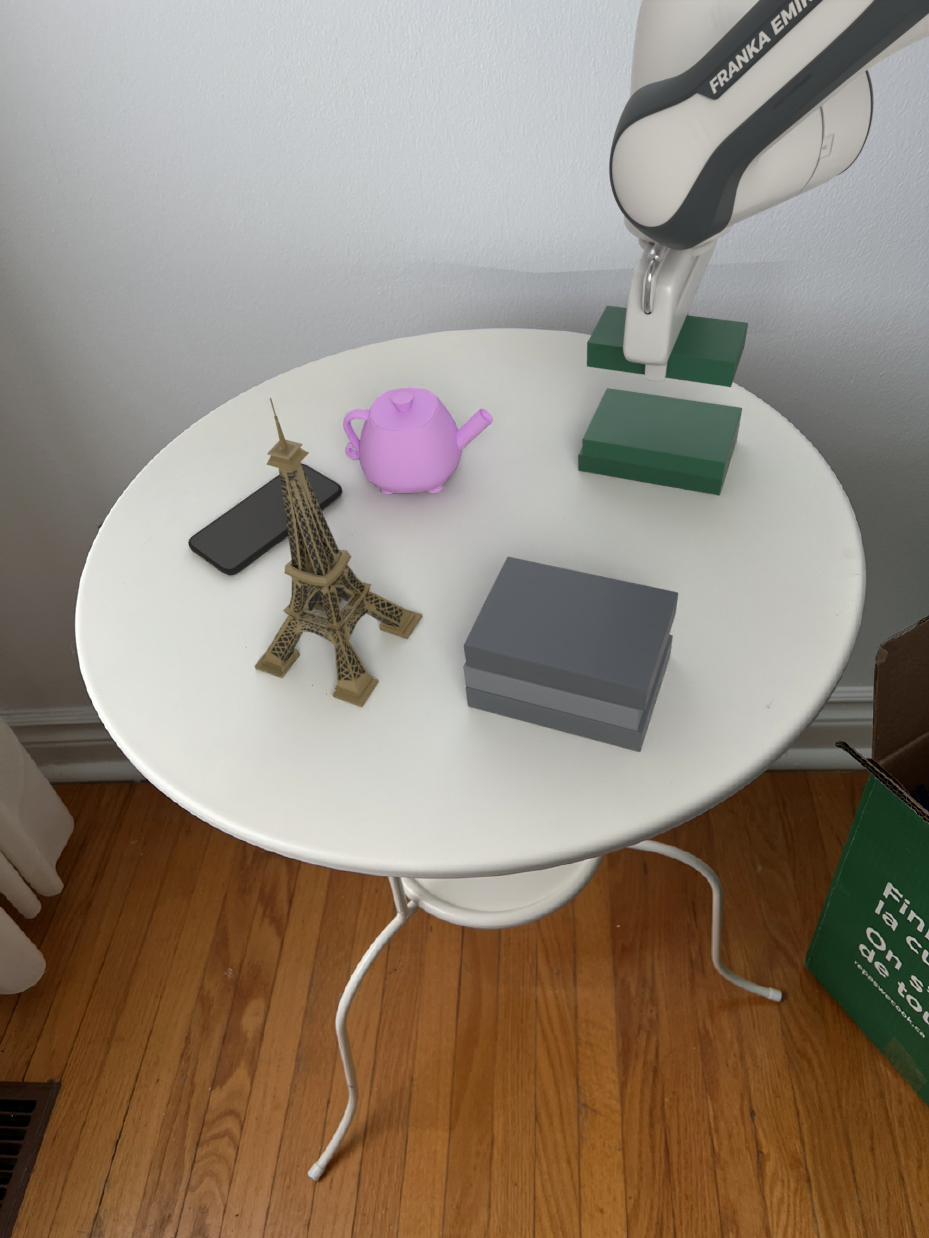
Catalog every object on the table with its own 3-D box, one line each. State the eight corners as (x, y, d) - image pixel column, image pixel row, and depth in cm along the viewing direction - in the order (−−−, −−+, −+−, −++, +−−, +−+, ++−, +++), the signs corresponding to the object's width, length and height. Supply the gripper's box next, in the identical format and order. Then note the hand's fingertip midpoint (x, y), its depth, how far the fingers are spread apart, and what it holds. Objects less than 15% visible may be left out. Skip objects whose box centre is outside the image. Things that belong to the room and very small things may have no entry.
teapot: (357, 443, 98) (341, 367, 91) (498, 439, 96) (493, 361, 89) (343, 508, 91) (324, 431, 84) (494, 505, 89) (488, 426, 82)
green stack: (737, 439, 93) (742, 406, 90) (719, 495, 88) (725, 462, 85) (602, 418, 97) (603, 386, 94) (577, 470, 92) (578, 438, 89)
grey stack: (670, 654, 75) (678, 591, 70) (640, 752, 69) (646, 692, 64) (509, 617, 80) (505, 555, 74) (467, 706, 74) (459, 646, 68)
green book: (744, 347, 84) (748, 322, 82) (730, 387, 80) (734, 362, 78) (605, 329, 88) (606, 305, 86) (586, 366, 84) (587, 342, 82)
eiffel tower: (422, 616, 80) (378, 369, 62) (362, 707, 74) (293, 463, 56) (321, 584, 84) (250, 342, 65) (255, 668, 78) (157, 427, 59)
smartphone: (182, 541, 88) (298, 459, 95) (185, 548, 89) (300, 466, 96) (228, 574, 85) (346, 486, 91) (231, 581, 85) (348, 494, 92)
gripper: (692, 268, 66) (675, 425, 76) (743, 150, 78) (723, 300, 89) (607, 258, 68) (601, 413, 78) (670, 146, 80) (658, 292, 91)
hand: (666, 352), depth 84 cm, fingers closed on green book, 6 cm apart
